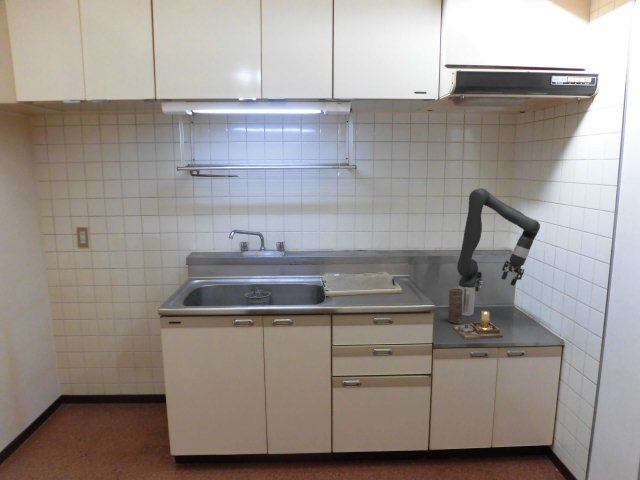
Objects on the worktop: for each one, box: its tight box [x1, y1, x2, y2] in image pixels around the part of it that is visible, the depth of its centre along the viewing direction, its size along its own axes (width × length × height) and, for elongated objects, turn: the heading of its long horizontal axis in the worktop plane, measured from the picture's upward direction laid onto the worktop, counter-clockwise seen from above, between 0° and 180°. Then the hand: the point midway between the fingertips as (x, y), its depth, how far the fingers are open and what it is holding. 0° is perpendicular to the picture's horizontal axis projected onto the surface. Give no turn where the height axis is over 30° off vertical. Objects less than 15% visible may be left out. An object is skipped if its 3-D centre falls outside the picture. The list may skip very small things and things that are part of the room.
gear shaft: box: [476, 310, 493, 330], centre depth 219 cm, size 8×8×10 cm
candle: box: [447, 287, 463, 325], centre depth 232 cm, size 8×7×20 cm
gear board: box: [452, 321, 504, 340], centre depth 219 cm, size 16×20×5 cm
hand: (507, 282), depth 224 cm, fingers open, 8 cm apart
